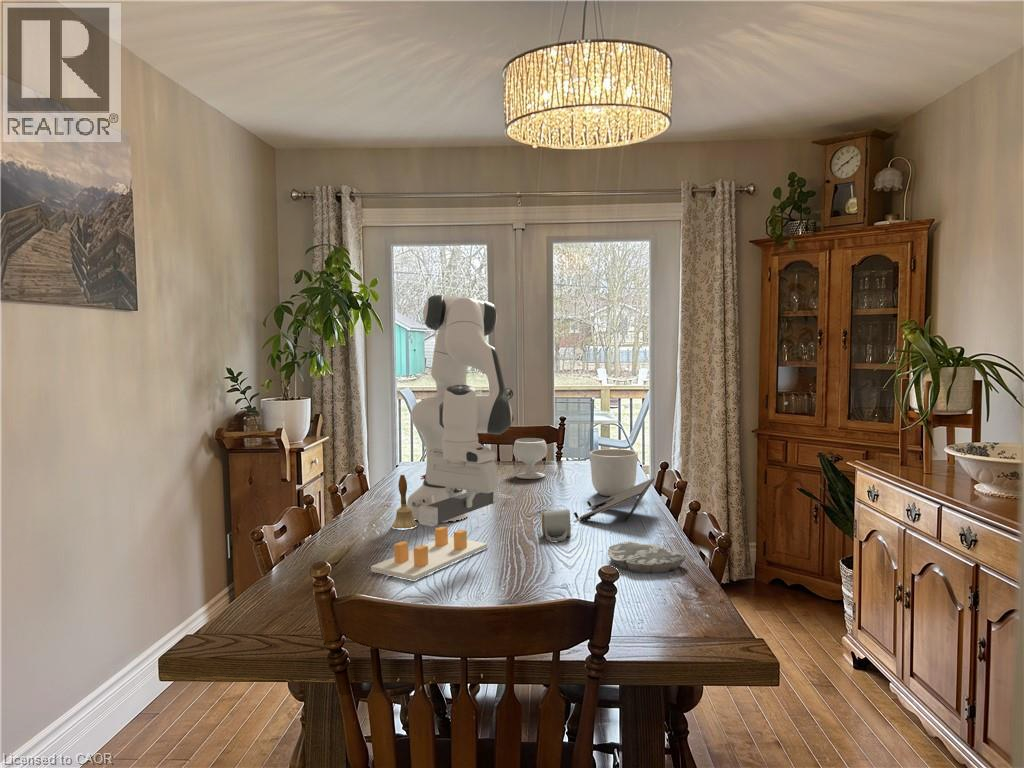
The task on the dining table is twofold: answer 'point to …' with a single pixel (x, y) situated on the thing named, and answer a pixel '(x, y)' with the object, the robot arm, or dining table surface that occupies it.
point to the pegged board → (428, 555)
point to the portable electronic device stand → (618, 500)
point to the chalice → (530, 455)
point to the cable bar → (454, 507)
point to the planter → (613, 470)
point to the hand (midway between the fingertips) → (460, 505)
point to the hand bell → (403, 508)
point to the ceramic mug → (556, 524)
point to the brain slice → (644, 557)
